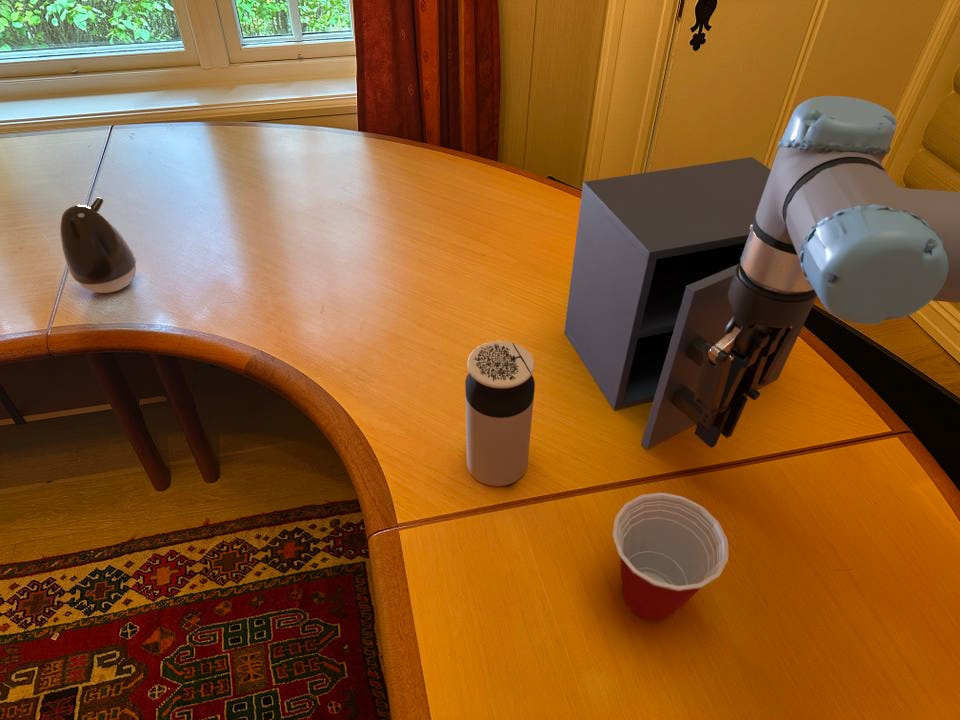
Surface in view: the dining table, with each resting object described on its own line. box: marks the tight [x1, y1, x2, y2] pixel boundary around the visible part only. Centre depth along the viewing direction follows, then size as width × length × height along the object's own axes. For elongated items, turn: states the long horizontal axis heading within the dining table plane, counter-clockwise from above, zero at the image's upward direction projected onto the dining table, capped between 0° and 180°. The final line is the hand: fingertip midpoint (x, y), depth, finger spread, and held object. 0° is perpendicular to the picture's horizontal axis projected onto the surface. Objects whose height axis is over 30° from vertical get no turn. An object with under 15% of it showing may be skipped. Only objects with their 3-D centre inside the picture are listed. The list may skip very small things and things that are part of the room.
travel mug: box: [464, 340, 536, 487], centre depth 73 cm, size 8×8×18 cm
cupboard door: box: [640, 265, 816, 451], centre depth 75 cm, size 7×26×26 cm, turn 122°
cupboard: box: [563, 156, 772, 411], centre depth 86 cm, size 18×26×26 cm
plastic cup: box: [612, 492, 729, 622], centre depth 62 cm, size 11×11×12 cm
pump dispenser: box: [59, 197, 137, 294], centre depth 103 cm, size 10×10×15 cm
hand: (712, 434), depth 73 cm, fingers closed on cupboard door, 2 cm apart
